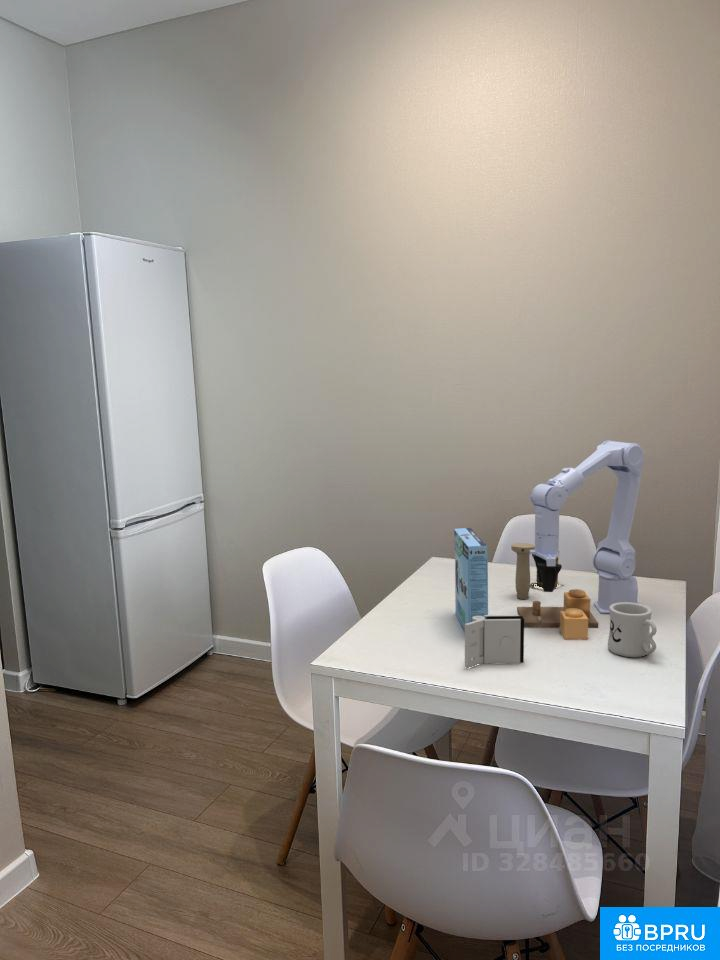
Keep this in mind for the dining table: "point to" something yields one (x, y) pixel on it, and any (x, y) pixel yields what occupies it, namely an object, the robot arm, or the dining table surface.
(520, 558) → the handle
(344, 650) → the dining table surface
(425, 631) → the dining table surface
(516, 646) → the hinge
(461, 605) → the gum box
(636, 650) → the mug
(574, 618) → the cube with round boss
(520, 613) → the junction board
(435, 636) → the dining table surface
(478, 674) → the dining table surface
